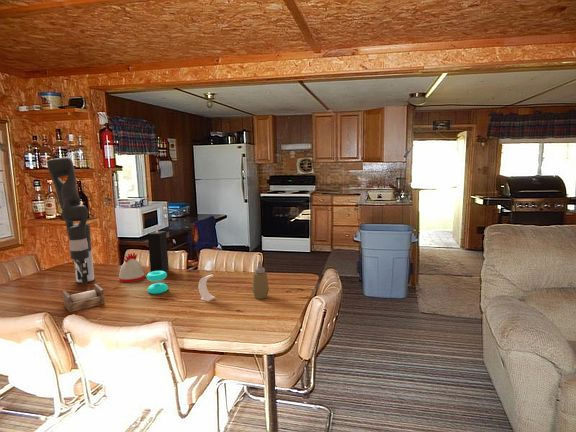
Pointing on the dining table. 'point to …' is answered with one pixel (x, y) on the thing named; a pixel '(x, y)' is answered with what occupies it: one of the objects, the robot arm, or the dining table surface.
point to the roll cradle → (84, 303)
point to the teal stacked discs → (157, 287)
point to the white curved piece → (205, 289)
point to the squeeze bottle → (260, 282)
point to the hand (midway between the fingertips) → (82, 281)
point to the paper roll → (83, 296)
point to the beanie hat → (131, 270)
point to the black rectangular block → (158, 250)
